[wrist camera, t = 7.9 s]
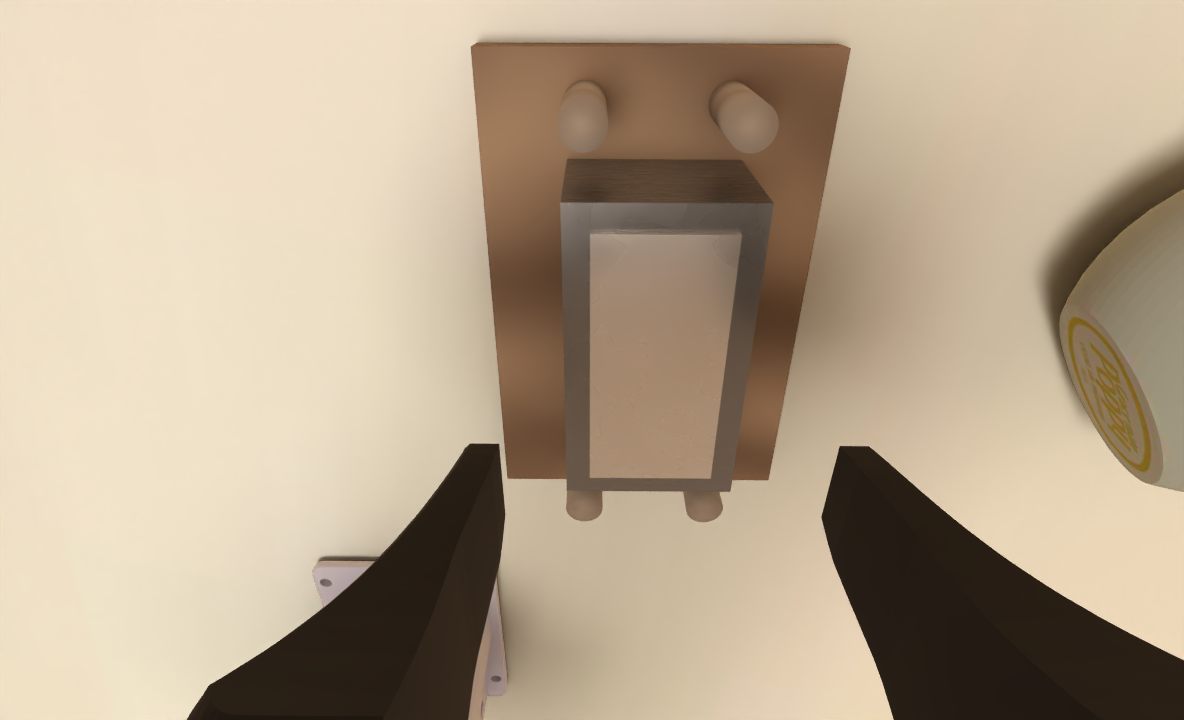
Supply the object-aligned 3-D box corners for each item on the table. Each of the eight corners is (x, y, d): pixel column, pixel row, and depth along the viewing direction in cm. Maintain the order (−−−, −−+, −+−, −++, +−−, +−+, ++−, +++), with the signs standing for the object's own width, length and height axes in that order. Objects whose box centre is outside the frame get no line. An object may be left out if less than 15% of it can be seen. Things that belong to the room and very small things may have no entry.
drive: (710, 414, 23) (731, 496, 20) (571, 413, 23) (566, 495, 20) (741, 159, 19) (776, 205, 15) (566, 159, 19) (560, 205, 15)
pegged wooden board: (762, 463, 26) (788, 539, 22) (510, 461, 26) (497, 537, 22) (838, 44, 18) (895, 62, 14) (476, 42, 18) (448, 60, 15)
